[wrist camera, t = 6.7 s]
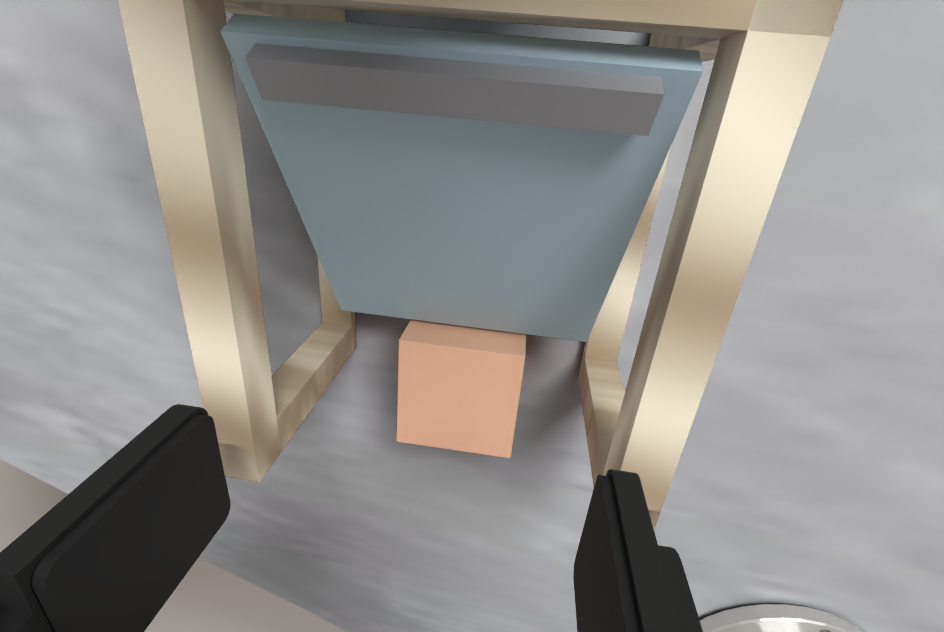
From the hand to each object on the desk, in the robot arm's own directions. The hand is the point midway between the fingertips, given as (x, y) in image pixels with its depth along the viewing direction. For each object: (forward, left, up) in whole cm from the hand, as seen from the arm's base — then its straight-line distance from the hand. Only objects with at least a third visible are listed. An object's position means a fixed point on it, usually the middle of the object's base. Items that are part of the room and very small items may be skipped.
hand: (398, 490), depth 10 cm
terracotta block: (-1, +1, -11) cm, 11 cm away
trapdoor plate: (+3, -3, -8) cm, 9 cm away
